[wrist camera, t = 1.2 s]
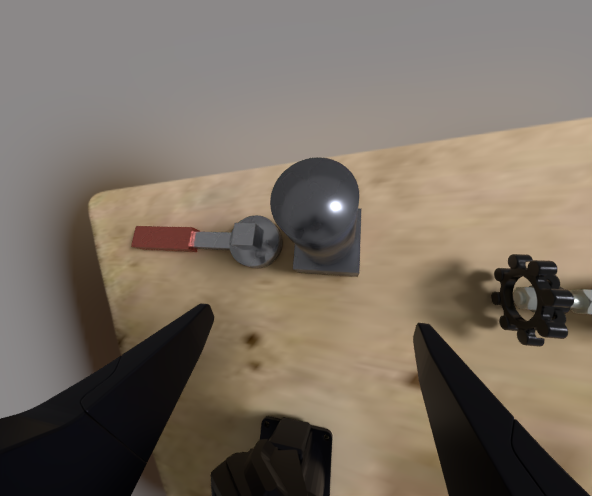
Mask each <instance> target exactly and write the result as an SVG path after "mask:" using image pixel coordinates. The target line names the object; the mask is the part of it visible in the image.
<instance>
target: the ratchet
mask: <svg viewBox="0 0 592 496" xmlns="http://www.w3.org/2000/svg"><path fill="white" fill-rule="evenodd" d="M131 247H135V248H139V249H144V250H165V251H186V252H197V249H213V250H230V251H231V254H232V256H233V257H234V258H235V260H237V261H238V262H239V263H241V264H243V265H246V266H248V267H252V268H263V267H266V266H268V265H270V264H271V263H273V262H274V261H275V260H276V259H277V257H278V256H279V254H280V252H281V249H282V236H281V233H280V231H279V229H278V228H277V227H276V226H275V225H274V224H273V223H272V222H271V221H270V220H269V219H267V218H266V217H263V216H249V217H247V218H244V219H243V220H241V221H240V222H239V223H235V225H234V229H233V230H232V233H228V232H200V231H199V230H197V229H195V228H192V227H152V226H136V228H135V232H134V237H133V241H132V245H131Z"/></svg>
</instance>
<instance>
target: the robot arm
mask: <svg viewBox="0 0 592 496" xmlns="http://www.w3.org/2000/svg"><path fill="white" fill-rule="evenodd" d="M213 322H214V314H213V312H212V309H211V307H210V305H209V304H199V305H197V306H196V307H194V308H193V309H191V310H190V311H188V312H187V313H185V314H184V315H182V316H181V317H179V318H177V319H176V320H174V321H173V322H171V323H170V324H168V325H167V326H165V327H164V328H162V329H161V330H159V331H158V332H156V333H155V334H153V335H152V336H150V337H149V338H147V339H146V340H144V341H142V342H141V343H139V344H138V345H136V346H135V347H133V348H132V349H130V350H129V351H127V352H126V353H124V354H123V355H122V356H120V357H118V358H117V359H115V360H114V361H112V362H111V363H109V364H107V365H106V366H104V367H103V368H101V369H99V370H98V371H97V372H95V373H93V374H91V375H90V376H88V377H86V378H85V379H83V380H81V381H80V382H78V383H76V384H75V385H73V386H71V387H69V388H68V389H66V390H64V391H63V392H61V393H59V394H57V395H56V396H54V397H52V398H51V399H49V400H47V401H46V402H44V403H42V404H40V405H38V406H36V407H34V408H33V409H30V410H27V411H25V412H22V413H19V414H16V415H12V416H9V417H5V418H1V419H0V496H131V494H132V492H133V490H134V488H135V486H136V484H137V482H138V480H139V478H140V476H141V474H142V472H143V470H144V468H145V466H146V464H147V463H146V462H148V460H149V458H150V456H151V454H152V452H153V450H154V448H155V446H156V444H157V442H158V440H159V438H160V436H161V434H162V432H163V430H164V427H165V425H166V423H167V421H168V419H169V417H170V415H171V413H172V411H173V409H174V407H175V405H176V403H177V401H178V399H179V397H180V395H181V393H182V391H183V389H184V387H185V385H186V383H187V381H188V379H189V377H190V375H191V373H192V371H193V369H194V367H195V365H196V363H197V361H198V359H199V357H200V355H201V353H202V350H203V348H204V345H205V343H206V340H207V338H208V335H209V332H210V330H211V327H212V324H213ZM413 343H414V350H415V357H416V364H417V371H418V377H419V383H420V387H421V391H422V395H423V399H424V403H425V407H426V410H427V414H428V418H429V422H430V426H431V429H432V433H433V437H434V441H435V445H436V448H437V452H438V456H439V460H440V464H441V467H442V471H443V475H444V479H445V483H446V486H447V490H448V494H449V496H590V495H589V494H588V493H587V492H586V491H585V490H584V489H583V488H582V487H581V486H580V485H579V484H578V483H577V482H576V481H575V480H574V479H573V478H572V477H571V476H570V475H569V474H568V473H567V472H566V471H565V470H564V469H563V468H562V467H561V466H560V465H559V464H558V463H557V462H556V461H555V460H554V459H553V458H552V457H551V456H550V455H549V454H548V453H547V452H546V451H545V450H544V449H543V448H542V447H541V446H540V445H539V444H538V442H537V441H536V440H535V439H534V438H533V437H532V436H531V435H530V434H529V433H528V432H527V431H526V430H525V428H524V427H523V426H522V425H521V424H520V423H519V422H518V421H517V420H516V419H514V417H513V415H512V414H511V413H510V412H509V411H508V410H507V409H506V408H505V407H504V406H503V404H502V403H501V402H500V401H499V400H498V399H497V398H496V397H495V396H494V395H493V393H492V392H491V391H490V390H489V389H488V388H487V387H486V386H485V385H484V384H483V382H482V381H481V380H480V379H479V378H478V377H477V376H476V375H475V374H474V373H473V371H472V370H471V369H470V368H469V367H468V366H467V365H466V364H465V363H464V362H463V360H462V359H461V358H460V357H459V356H458V355H457V354H456V353H455V352H454V351H453V349H452V348H451V347H450V346H449V345H448V344H447V343H446V342H445V341H444V339H443V338H442V337H441V336H440V335H439V334H438V333H437V332H436V331H435V330H434V328H433V327H432V326H431V325H429V324H426V323H417V325H416V328H415V332H414V336H413ZM266 421H267V422H269V425H266ZM324 435H328V436H329V438H328V439H326V438H325V437H324ZM331 456H332V433H331V431H330V430H328V429H325V428H320V427H315V426H311V425H310V424H309V423H308V422H303V421H299V420H294V419H289V418H285V417H283V418H282V419H279V418H274V417H269V416H266V417H265V418H264V419H263V421H262V424H261V434H260V440H259V441H258V443H257V444H256V446H255V447H254V448H252V449H250V451H249V452H242V453H234V454H233V455H231V456H230V457H228V458H227V459H226V460H225V461H224V462H223V463H221V464H220V465H219V466H218V467H216V468H215V469H214V470H213V471H212V472H211V490H212V496H330V477H331Z"/></svg>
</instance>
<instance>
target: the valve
mask: <svg viewBox="0 0 592 496" xmlns="http://www.w3.org/2000/svg"><path fill="white" fill-rule="evenodd" d="M526 262H530V263H529V264H528V268H526ZM508 265H509V267H510V268H497V269H496V270H495V272H494V277H495V279H496V280H497V281H500V283H501V288H500V292H493V293H492V295H491V299H492V302H493V304H495V305H502V308H503V310H504V315H503V316H501V317H500V319H499V323H500V326H501V327H502V329H504V330H511V331H517V338H518V340H519V342H520V343H521V344H523V345H529V346H539V347H540V346H543V344H544V339H543V338H536V335H535V330H537V332H538V333H539V335H541V336H542V337H547V338H558V339H564V338H566V337H567V335H568V329H567V327H566V325H565V322H566V316H565V314H566V313H567V312H568V311H569V310H570V309H571V310H572V311H573V312H574V313H579V314H592V290H585V289H580V290H570V291H569V290H566V289H563V288H561V287H560V280H559V278H558V277H557V276H556V274H557V266H556V264H555V263H554V262H552V261H538V260H532V257H531V256H530V255H522V254H512V255H510V256H509V258H508ZM522 276H524V277H525V278H527V279H528V280H529V281H530V282H531V284H532V286H529V287H518V288H516V289H515V291H514V294H513V288H514V285H515V283H516V282H517V280H518V279H519V278H521V277H522ZM514 302H515V304H516V306H517V307H518V308H519V309H529V310H531V311H533V312H535V314H534V316H533V317H532V318H531V319H530V320H529V321H526V320H525V319H523V318H522V317H521V316H520V315H519V313H518V312H517V310H516V308H515V306H514Z"/></svg>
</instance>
